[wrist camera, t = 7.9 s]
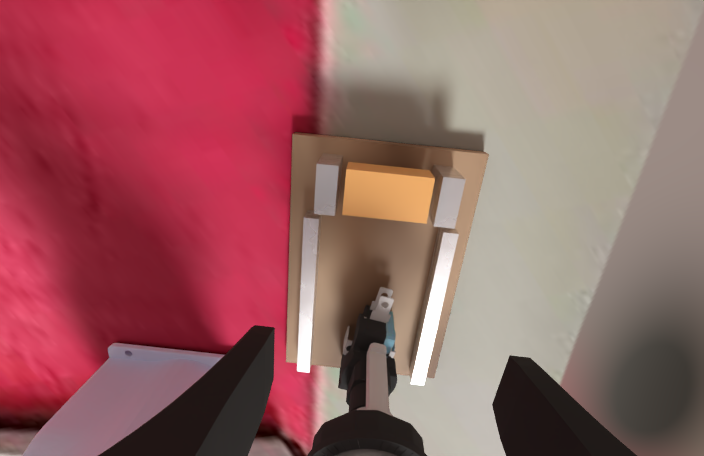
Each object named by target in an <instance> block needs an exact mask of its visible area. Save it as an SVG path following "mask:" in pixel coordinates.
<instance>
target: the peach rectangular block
mask: <svg viewBox="0 0 704 456" xmlns="http://www.w3.org/2000/svg"><path fill="white" fill-rule="evenodd" d="M434 182H435V177H434V176H433V174H432V173H431V172H430V170H422V169H413V168H403V167H394V166H384V165H374V164H365V163H355V162H348V165H347V168H346V178H345V190H344V201H343V212H342V215H348V216H358V217H367V218H377V219H386V220H396V221H405V222H414V223H424V224H427V219H428V214H429V208H430V203H431V198H432V193H433V187H434Z"/></svg>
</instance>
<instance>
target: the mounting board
mask: <svg viewBox="0 0 704 456" xmlns="http://www.w3.org/2000/svg"><path fill="white" fill-rule="evenodd" d="M324 153H327V154H336V155H343V161H342V173H341V185H340V196H339V202H338V206H337V209H336V213H335V216H330V215H322V217H321V233H320V248H319V263H318V279H317V294H316V309H315V324H314V340H313V355H312V363H311V365H319V366H328V367H337V368H340V367H341V359H342V355H343V344H344V337H345V334H346V331H347V328H348V326H350V328H349V338H348V339H349V340H351V341H353V339H354V334H355V328H356V323H357V319H358V316H359V314H360V313H361V314H363V312H364V309H365V306H366V305H369V306H371V304H372V301H375V300H376V297H377V295H378V292H379V289H380V287H384V288H388V289H392V290H393V293H392V296H391V298H393V299H394V302H393V304H392V307H391V310H390V311H392V312H393V319H394V329H395V333H396V338H395V351H396V352H395V355H394V357H393V358H394V359H395V363H396V374H400V375H409V376H410V371H409V369H410V364H411V359H412V354H413V349H414V344H415V339H416V335H417V330H418V325H419V320H420V315H421V310H422V305H423V301H424V296H425V291H426V286H427V281H428V276H429V271H430V267H431V262H432V257H433V252H434V247H435V242H436V237H437V233H438V228H439V227H434V226H433V224H432V222H431V220H430V217H429V215H428V219H427V224H424V223H414V222H405V221H396V220H386V219H377V218H367V217H358V216H348V215H342V212H343V201H344V190H345V178H346V168H347V165H348V162H355V163H365V164H374V165H384V166H394V167H403V168H413V169H422V170H430V172H431V173H432V171H433V166H434V165H442V166H451V167H454V168H455V169H456V170H457V171H458V172H459V173H460V174H461V175H462V176H463V177H464V178H465V179H466V181H465V185H464V190H463V194H462V198H461V203H460V207H459V212H458V216H457V221H456V225H455V228H456V230H457V232H458V233H459V236H458V240H457V244H456V249H455V253H454V257H453V262H452V266H451V270H450V275H449V279H448V283H447V288H446V292H445V296H444V300H443V305H442V309H441V313H440V318H439V322H438V326H437V331H436V335H435V339H434V344H433V348H432V352H431V357H430V361H429V365H428V369H427V374H426V377H428V378H434V377H435V373H436V368H437V364H438V360H439V356H440V352H441V348H442V344H443V340H444V336H445V332H446V328H447V323H448V319H449V315H450V311H451V307H452V303H453V299H454V295H455V291H456V287H457V283H458V278H459V274H460V270H461V266H462V262H463V258H464V254H465V250H466V246H467V242H468V238H469V233H470V229H471V225H472V221H473V217H474V213H475V209H476V205H477V201H478V197H479V193H480V188H481V184H482V180H483V176H484V172H485V168H486V164H487V160H488V156H489V154H487V153H485V152H482V151H473V150H463V149H453V148H444V147H434V146H424V145H415V144H405V143H396V142H386V141H376V140H367V139H357V138H348V137H338V136H328V135H319V134H309V133H299V132H295V133H293V134H292V169H291V204H290V240H289V275H288V310H287V346H286V362H291V363H297V356H298V334H299V311H300V288H301V266H302V243H303V220H304V216H305V214H306V212H307V210H313V211H314V200H315V183H316V165H317V162H318V161H319V159H320V158H321V156H322V155H323V154H324ZM381 296H386V297H387V296H388V295H387V293H382V294H381ZM391 350H392V348H391Z"/></svg>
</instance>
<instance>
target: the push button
mask: <svg viewBox="0 0 704 456" xmlns="http://www.w3.org/2000/svg"><path fill="white" fill-rule="evenodd" d="M382 293H387V295H388V296H387V297H386V296H381V294H382ZM392 293H393V290H392V289H388V288H384V287H380V289H379V292H378V295H377V297H376V300H375V301H372V304H371V306H369V305H366V306H365V309H364V312H363V314H361V313H360V314H359V316H358V319H357V323H356V328H355V334H354V339H353V341H351V340H349V339H348V338H349V328H350V326H348V328H347V331H346V334H345V337H344V344H343V355H342V359H341V367H340V376H339V386H338V388H340V389H344V390H347V398H346V402H347V404H348V405H349V413H346V414H344V415H342V416H339V417H337V418H334V419H332V420H330V421H327V422H325V423H324V424H323V425H322V426H321V428H320V429H319V431H318V432H317V433H316V435H315V436H314V441H313V447H312V450H311V451H310V452H309V454H308V456H427V455H426V454H425V453H424V447H423V440H422V437H421V436H420V435H419V434H418V432H417V431H416V430H415V428H414V427H413V426H412V425H411V424H410V423H408V422H405V421H403V420H400V419H398V418H396V417H393V415H392V414H391V413H390V410H389V395H390V394H391V392H392V391H393V390H394V388H395V386H396V383H397V374H396V363H395V359H394V358H393V357H394V355H395V352H396V351H395V338H396V333H395V329H394V319H393V312H392V311H390V310H391V307H392V304H393V302H394V299H393V298H391V296H392ZM391 348H392V350H391Z"/></svg>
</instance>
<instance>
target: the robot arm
mask: <svg viewBox="0 0 704 456" xmlns="http://www.w3.org/2000/svg"><path fill="white" fill-rule="evenodd" d="M274 329H275V328H273V327H265V326H257V325H255V326H253V327H252V328H251V329H250V330H249V331H248V332H247V333H246V334H245V335H244V336H243V337H242V338H241V339H240V340H239V341H238V342H237V343H236V344H235V345H234V346H233V347H232V348H231V349H230V350H229V351H228V352H227V353H226V354H225V355H223V354H214V353H205V352H195V351H186V350H177V349H168V348H159V347H150V346H141V345H132V344H123V343H113V344H111V345H110V346H109V348H108V354H109V358H108V360H107V361H106V362H105V363H104V364H103V365H102V366H101V367H100V368H99V369H98V370H97V371H96V372H95V373H94V374H93V375H92V376H91V377H90V378H89V379H88V380H87V381H86V382H85V384H84V385H83V386H82V387H81V388H80V389H79V390H78V391H77V392H76V393H75V394H74V395H73V396H72V397H71V398H70V399H69V400H68V401H67V402H66V403H65V404H64V405H63V407H62V408H61V409H60V410H59V411H58V412H57V413H56V414H55V415H54V416H53V417H52V418H51V419H50V420H49V421H48V422H47V423H46V424H45V425H44V426H43V427H42V429H41V430H40V431H39V432H38V433H37V434H36V436H35V437H34V439H33V440H32V441H31V443H30V444H29V446H28V447H27V449H26V450H25V452H24V454H23V455H22V456H248V453H249V451H250V448H251V446H252V443H253V440H254V438H255V435H256V433H257V430H258V427H259V425H260V422H261V420H262V417H263V414H264V412H265V408H266V404H267V401H268V397H269V393H270V390H271V386H272V382H273V378H274ZM130 351H131V352H130ZM492 405H493V410H494V414H495V419H496V423H497V427H498V431H499V435H500V439H501V442H502V445H503V448H504V451H505V453H506V456H637V455H635V454H634V453H633V452H632V451H631V450H630V449H628V448H627V447H626V446H625V445H624V444H623V443H622V442H620V441H619V440H618V439H617V438H616V437H614V436H613V435H612V434H611V433H610V432H609V431H608V430H607V429H606V428H604V427H603V426H602V425H601V424H600V423H599V422H598V421H597V420H596V419H595V418H593V417H592V416H591V415H590V414H589V413H588V412H587V411H586V410H585V409H584V408H583V407H582V406H581V405H580V404H579V403H578V402H576V401H575V400H574V399H573V398H572V397H571V396H570V395H569V394H568V393H567V392H566V391H565V390H564V389H563V388H562V387H561V386H560V385H559V384H558V383H557V382H556V381H554V380H553V379H552V378H551V377H550V376H549V375H548V374H547V373H546V372H545V371H544V370H543V369H542V368H541V367H540V366H539V365H537V364H536V363H535V362H534V361H533V360H532V359H531V358H527V357H518V356H509V359H508V362H507V365H506V368H505V370H504V373H503V376H502V379H501V382H500V384H499V387H498V390H497V393H496V396H495V398H494V401H493V404H492Z"/></svg>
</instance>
